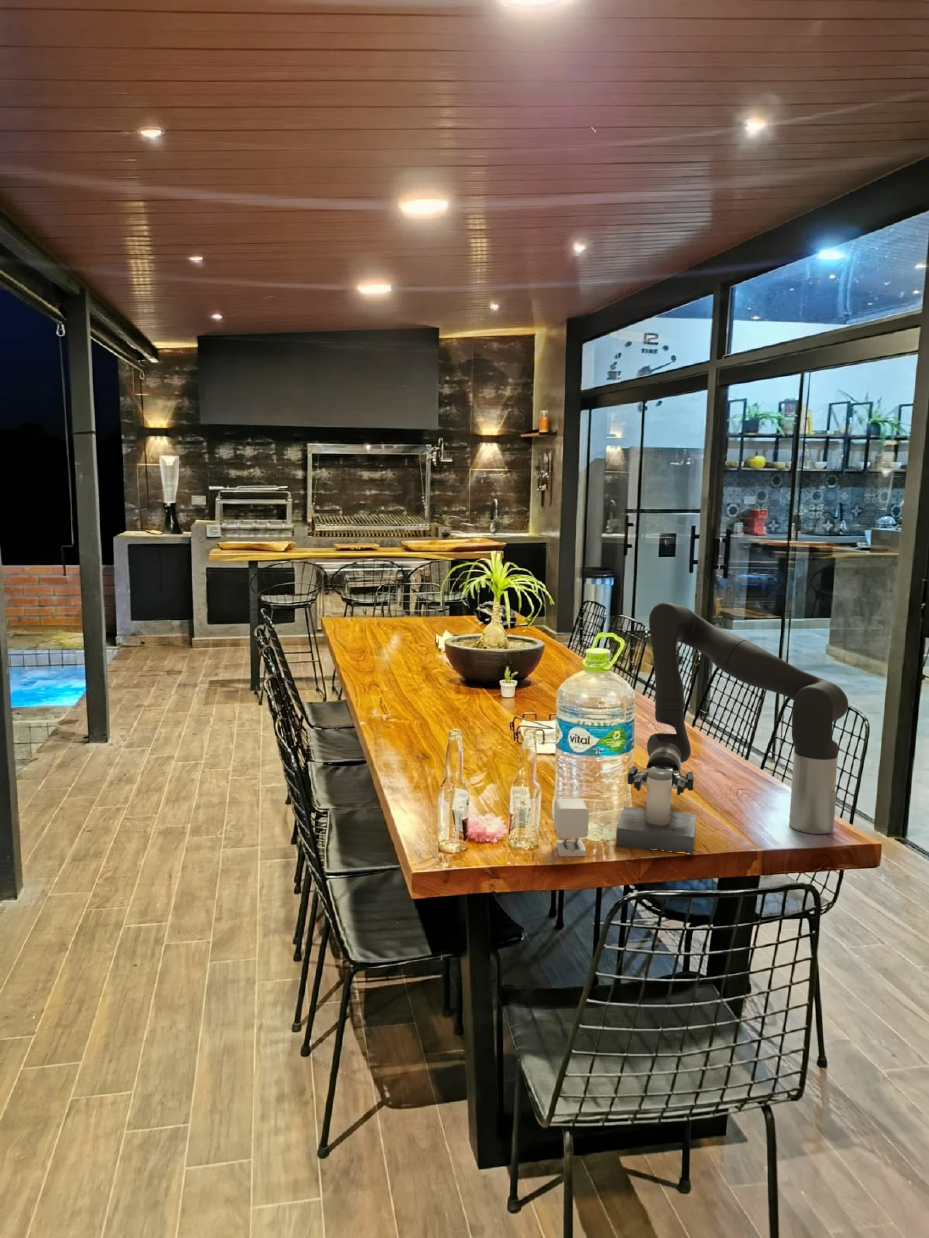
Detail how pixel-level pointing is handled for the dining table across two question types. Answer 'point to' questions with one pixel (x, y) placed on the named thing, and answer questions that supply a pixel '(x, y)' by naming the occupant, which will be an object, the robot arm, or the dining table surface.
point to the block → (656, 831)
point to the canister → (658, 796)
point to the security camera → (571, 826)
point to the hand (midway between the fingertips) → (658, 788)
